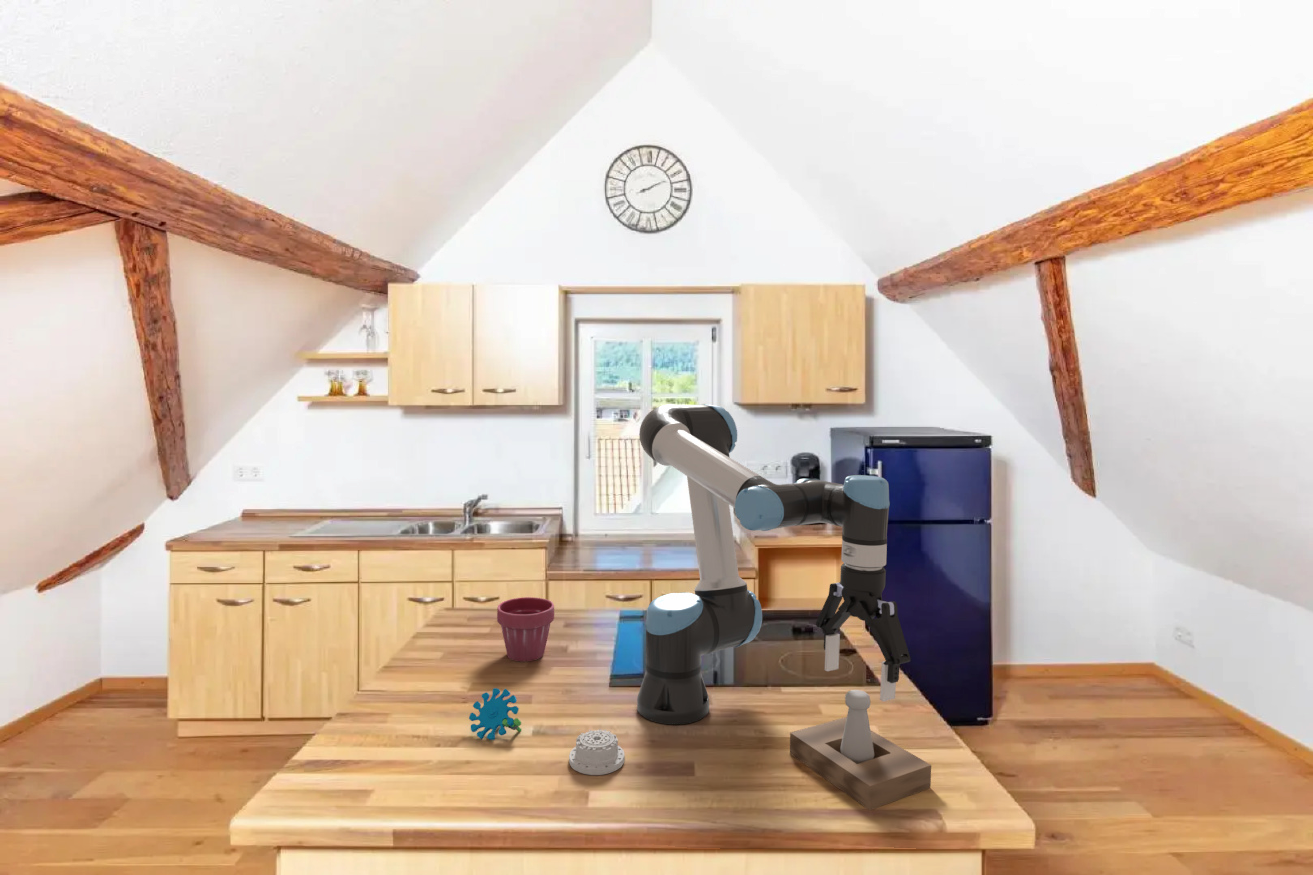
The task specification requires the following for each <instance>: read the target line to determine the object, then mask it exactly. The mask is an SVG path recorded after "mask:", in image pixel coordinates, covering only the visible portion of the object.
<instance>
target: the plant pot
mask: <svg viewBox="0 0 1313 875" xmlns="http://www.w3.org/2000/svg"><path fill="white" fill-rule="evenodd" d="M496 609H497V610H496V621H497V624H499V625H500V627H501V632H502V636H503V641H504V646H505V650H506V654H507V658H509V659H510V660H512V661H516V662H533V661H536V660H539V659H541V658H542V657H544V654H545V650H546V646H547V643H548V637H549V634H550V633H549V632H550V627H551V623H553V621H554V620H555V604H554V602H553V601H552V600H549V599H546V598H541V597H531V596H528V597H525V596H524V597H516V598H510V599H507V600H504V601H502V602H501V603H499V604H497V608H496Z"/></svg>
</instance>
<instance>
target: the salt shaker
mask: <svg viewBox="0 0 1313 875" xmlns="http://www.w3.org/2000/svg"><path fill="white" fill-rule="evenodd" d="M844 700H845V706H846V707H847V708H848V710H847V714H846V717H847V719H846V724H845V729H844V733H843V738H842V743H841V747H840V749H841V754H842V755H844V756H845V757H847V758H848V759H850V760H852V761H853V762H855V763H856V764H859V763H862V762H865V761H868V760H872V759H873V758H874V749H873V743H872V737H871V731H872V730H871V726H870V721H869V714H868V709H869V708H870V706H871V697H870V695H869V694H868V693H867V692H866V691H864V690H861V689H851V690H848V692H846V693H845V697H844ZM870 730H871V731H870Z"/></svg>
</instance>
